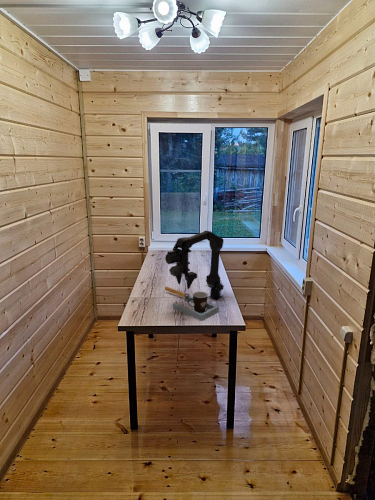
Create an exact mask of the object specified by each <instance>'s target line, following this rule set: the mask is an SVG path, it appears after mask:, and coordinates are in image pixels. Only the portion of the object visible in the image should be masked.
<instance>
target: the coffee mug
mask: <svg viewBox="0 0 375 500" xmlns="http://www.w3.org/2000/svg"><path fill="white" fill-rule="evenodd" d="M192 297H193V299H192V298H191V299H189V300H188V301H187V304H188V305H189V306H190V307H192V308H194V311H196V312H198V313H201V314H202V313H204V312H206V311H207V308H206V305H207V302H208V298H209V294H208V292H206V291H205V292H204V291H194V293H192ZM190 300H193V301H194V303H193V305H191V304H190V302H189V301H190Z"/></svg>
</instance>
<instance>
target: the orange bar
mask: <svg viewBox="0 0 375 500" xmlns="http://www.w3.org/2000/svg"><path fill="white" fill-rule="evenodd" d="M164 290H165V291H166V292H168V293H172V294H175V295H177V296H179V297H182V298H183V299H184V298H185V299H189V296H190V293H187V292H186V293H185V292H183V291H180V290H178V289H174V288H171V287H169V286H164Z"/></svg>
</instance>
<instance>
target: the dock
mask: <svg viewBox="0 0 375 500" xmlns="http://www.w3.org/2000/svg"><path fill="white" fill-rule="evenodd" d="M191 298H192V299H193V296H191V295H189V299H191ZM189 299H185V298H184V297H183V301H184V302H188V300H189ZM189 303H192V304H194V301H193V300H190V301H189ZM172 309H174V310H176V311H178V312H180V313H182V314H185V315H188V316H189V317H192V318H194V319H197V320H199V321H204V320H206V319H208V318H209V317H211V316H213V315H215V314H217V313H218V312H219V311H220V310H219V309H220V306H217V305H216V304H212V303H210V302H208V301H207V305H206V312H204V313H198V312H196V311H195V310H193V309H191V308H188V307H186V306H183V305H182V304H178V303H176V302H174V303H172Z"/></svg>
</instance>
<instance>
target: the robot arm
mask: <svg viewBox="0 0 375 500" xmlns="http://www.w3.org/2000/svg"><path fill="white" fill-rule="evenodd" d="M206 240H207V241H208V242H209V244H208V245H209V247H210V250H211V253H210V269H209V270H210V271H209V274H208V275H206V277H205V278H206V279H205V282H206V285H207V286H208V288H209V289H210V292H209V293H210V295H208V298H209V299H212V300H215V301H217V300H220V299H221V298H223V296H222V295H221V293H222V292H221V291H222V290H224V287H225V286H224V285H223V284H222V283H221V277H220V275H219V268H220V253H221V250H222V248H223V247H224V239H223V237H221V236H218V235H216V234H215V233H214V232H212V231H211V230H204V231H202V232H200V233H196V234H193V235H191V236H188V237H187V236H185V237H184V236H183V237H178V238H177V239H176V242H175V244H174V245H173V248H172V250H170V251H167V253H166V255H165V257H164V259H165V261H166V264H168V265H172V264H176V265H174V266H173V265H172V266H171V267H170V268H169V269H168V271H169V273H170V275H171V276H173V277H175V278H176V281H177V284H178V285H180V284H181V282H182V277H183V275H184V280H185V281H186V287H187V290H189V289H190V288H191V285H192V284H193V283H194V281H195V280H196V279H197V278H198V274H197V273H196V272H194V271H191V269H190V268H189V265H191V262H190V261H189V253H192V250H191V248H192V247H193V245H195V244H197V243H200V242H203V241H206Z"/></svg>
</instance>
